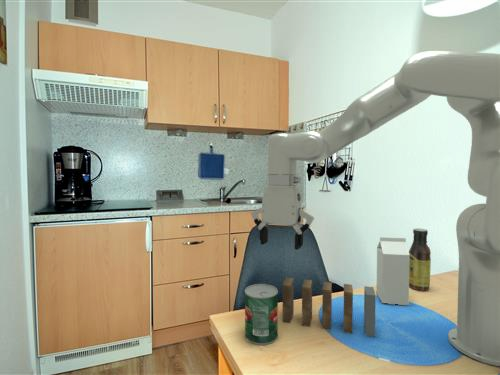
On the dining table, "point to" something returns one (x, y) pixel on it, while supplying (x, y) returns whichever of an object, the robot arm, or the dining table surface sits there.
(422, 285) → the sauce bottle
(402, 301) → the milk carton
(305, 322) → the walnut domino
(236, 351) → the dining table surface
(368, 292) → the charcoal domino
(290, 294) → the walnut domino
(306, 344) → the dining table surface
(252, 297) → the canned tomato
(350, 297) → the walnut domino
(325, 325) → the walnut domino
